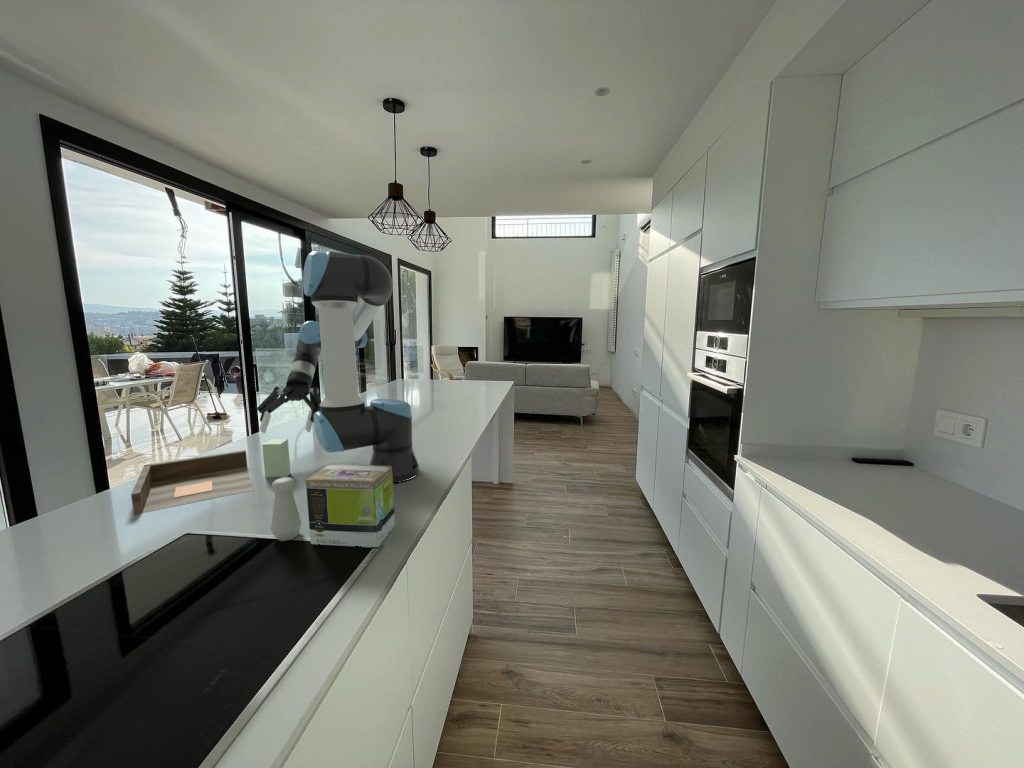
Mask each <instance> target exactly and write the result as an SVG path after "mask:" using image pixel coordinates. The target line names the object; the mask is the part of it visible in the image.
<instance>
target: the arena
mask: <svg viewBox="0 0 1024 768" xmlns="http://www.w3.org/2000/svg"><path fill="white" fill-rule="evenodd" d="M208 481H212V491H209V492H204V493H199V494H193V495H188V496H183V497H178V498H174V494H175V489H176V487H181V486H186V485H192V484H197V483H203V482H208ZM254 491H255V490H254V488H253V483H252V479H251V475H250V472H249V467H248V459H247V451H246V450H245V449H243V450H238V451H230V452H225V453H217V454H211V455H204V456H203V455H202V456H198V457H197V456H196V457H190V458H185V459H184V458H183V459H177V460H171V461H170V460H169V461H163V462H158V463H151V464H144V465H143V467H142V469H141V471H140V474H139V477H138V478H137V480H136V483H135V484H134V487H133V489H132V492H131V494H130V495H131V502H132V510H133V515H140V514H144V513H148V512H154V511H159V510H164V509H168V508H174V507H178V506H179V507H180V506H184V505H188V504H193V503H198V502H203V501H209V500H213V499H218V498H219V499H220V498H223V497H224V498H225V497H229V496H233V495H238V494H243V493H244V494H245V493H248V492H254Z"/></svg>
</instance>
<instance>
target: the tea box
mask: <svg viewBox="0 0 1024 768" xmlns="http://www.w3.org/2000/svg"><path fill="white" fill-rule="evenodd" d="M305 487H306V488H305V489H306V503H307V514H308V527H309V528H308V529H309V535H310V536H309V538H310V544H311V545H319V544H320V545H322V546H337V547H339V546H340V547H341V546H342V547H355V546H359V548H372V547H378V548H379V547H380V546H381V544H382V543H383V542H384V541H385V539H386V538H387V537H388V536H389V534H390V533H391V532H392V530H393V529H394V528H393V527H395V523H396V522H395V499H394V498H395V497H394V496H395V495H394V483H393V475H392V466H376V465H369V464H367V465H366V464H365V465H364V464H338V463H337V464H333V463H332V464H331V463H330V464H329V465H326V467H324V468H322V469H320V470H319V471H318V472H317V471H316V472H315V473H314V474H313V475H311V476H309V477H307V478H306V479H305ZM392 528H393V529H392ZM390 531H391V532H390ZM389 532H390V533H389ZM388 533H389V534H388ZM386 536H387V537H386ZM383 540H384V541H383ZM382 541H383V542H382ZM360 546H361V547H360Z"/></svg>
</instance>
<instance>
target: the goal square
mask: <svg viewBox="0 0 1024 768" xmlns="http://www.w3.org/2000/svg"><path fill="white" fill-rule="evenodd" d="M209 491H212V481H208V482H203V483H197V484H192V485H186V486H181V487H176V489H175V494H174V498H178V497H183V496H188V495H193V494H199V493H204V492H209Z"/></svg>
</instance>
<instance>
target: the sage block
mask: <svg viewBox="0 0 1024 768" xmlns="http://www.w3.org/2000/svg"><path fill="white" fill-rule="evenodd" d="M289 449H290V448H289V439H288V438H283V439H279V438H278V439H269V440H267V441H265V442H264V443H262V456H263V466H264V467H263V468H264V477H265V478H279V479H280V478H285V477H289V476H288V475H289V474H290V473H291V464H290V461H291V460H290V451H289ZM290 475H291V474H290Z"/></svg>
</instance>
